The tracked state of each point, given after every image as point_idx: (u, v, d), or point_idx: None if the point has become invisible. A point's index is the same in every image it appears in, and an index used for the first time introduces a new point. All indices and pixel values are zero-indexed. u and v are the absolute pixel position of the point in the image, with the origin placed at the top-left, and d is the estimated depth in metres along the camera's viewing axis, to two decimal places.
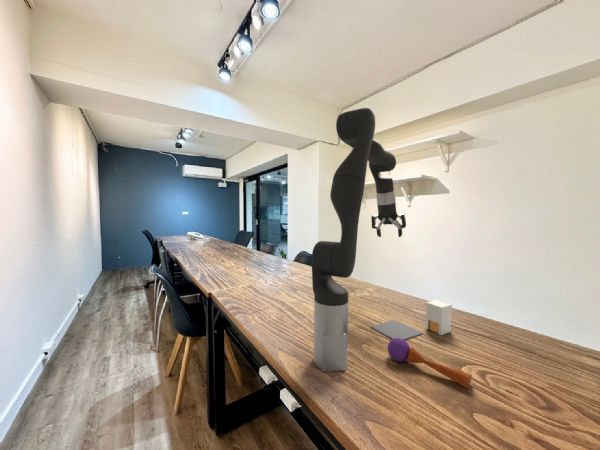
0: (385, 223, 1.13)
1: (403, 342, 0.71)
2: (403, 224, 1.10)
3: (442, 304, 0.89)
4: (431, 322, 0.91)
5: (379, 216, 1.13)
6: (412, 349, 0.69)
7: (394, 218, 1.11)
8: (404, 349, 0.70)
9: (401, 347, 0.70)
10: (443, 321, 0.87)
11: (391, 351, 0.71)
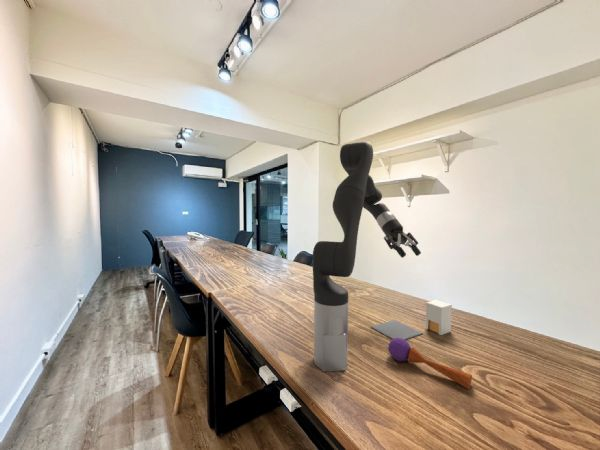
0: (401, 240, 1.02)
1: (404, 342, 0.71)
2: (415, 240, 1.05)
3: (442, 304, 0.89)
4: (431, 322, 0.90)
5: (393, 234, 1.03)
6: (413, 349, 0.70)
7: (405, 235, 1.05)
8: (405, 349, 0.70)
9: (402, 347, 0.70)
10: (443, 321, 0.87)
11: (392, 350, 0.71)
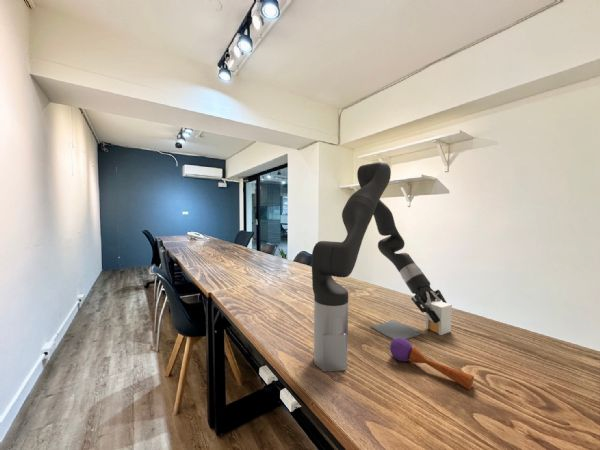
0: (431, 299, 0.92)
1: (405, 342, 0.71)
2: (444, 300, 0.94)
3: (442, 304, 0.89)
4: (431, 322, 0.91)
5: (420, 292, 0.93)
6: (414, 349, 0.70)
7: None
8: (406, 349, 0.70)
9: (403, 347, 0.70)
10: (443, 321, 0.87)
11: (393, 350, 0.71)
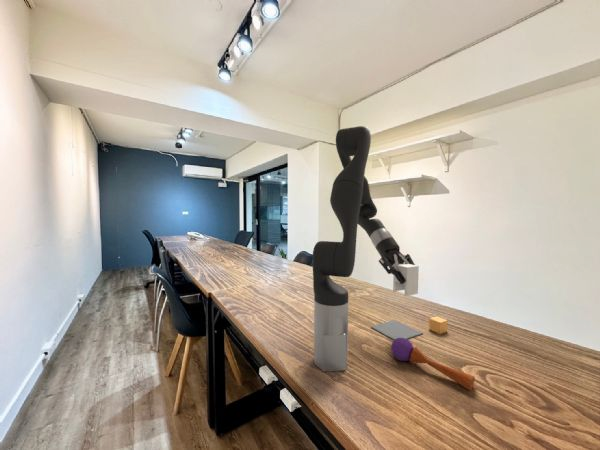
0: (398, 261, 0.91)
1: (406, 342, 0.71)
2: (412, 263, 0.92)
3: (409, 265, 0.88)
4: (431, 322, 0.90)
5: (388, 255, 0.91)
6: (415, 349, 0.70)
7: None
8: (407, 349, 0.70)
9: (404, 347, 0.70)
10: (409, 282, 0.85)
11: (394, 350, 0.71)
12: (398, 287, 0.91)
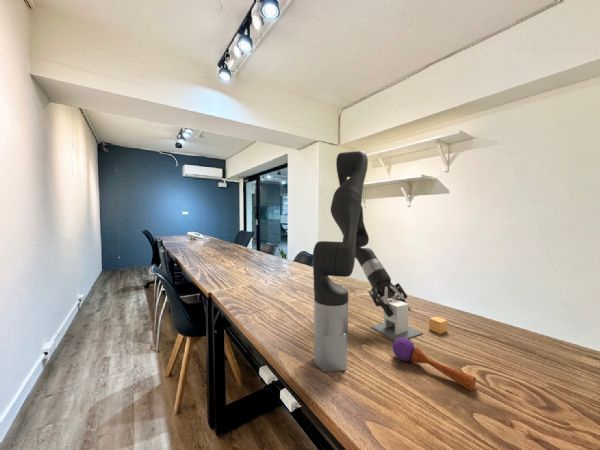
0: (389, 294, 0.91)
1: (408, 342, 0.71)
2: (404, 293, 0.94)
3: (399, 303, 0.89)
4: (431, 322, 0.91)
5: (379, 287, 0.92)
6: (416, 349, 0.70)
7: None
8: (408, 349, 0.70)
9: (406, 347, 0.70)
10: (399, 320, 0.86)
11: (396, 350, 0.71)
12: (389, 323, 0.92)
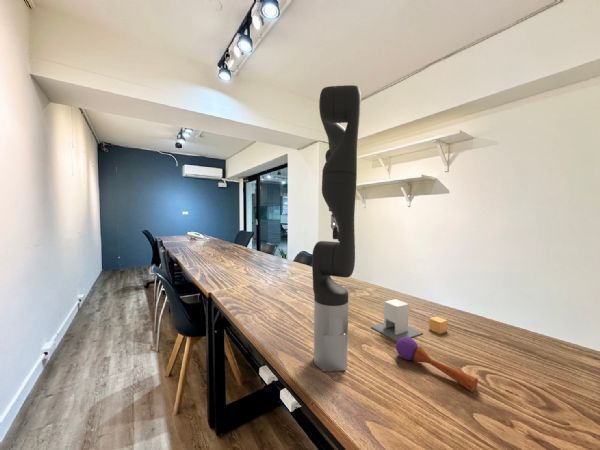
0: None
1: (411, 341, 0.72)
2: None
3: (399, 303, 0.89)
4: (431, 322, 0.91)
5: None
6: (419, 348, 0.70)
7: None
8: (411, 348, 0.70)
9: (408, 346, 0.71)
10: (399, 320, 0.86)
11: (398, 349, 0.72)
12: (389, 323, 0.92)
